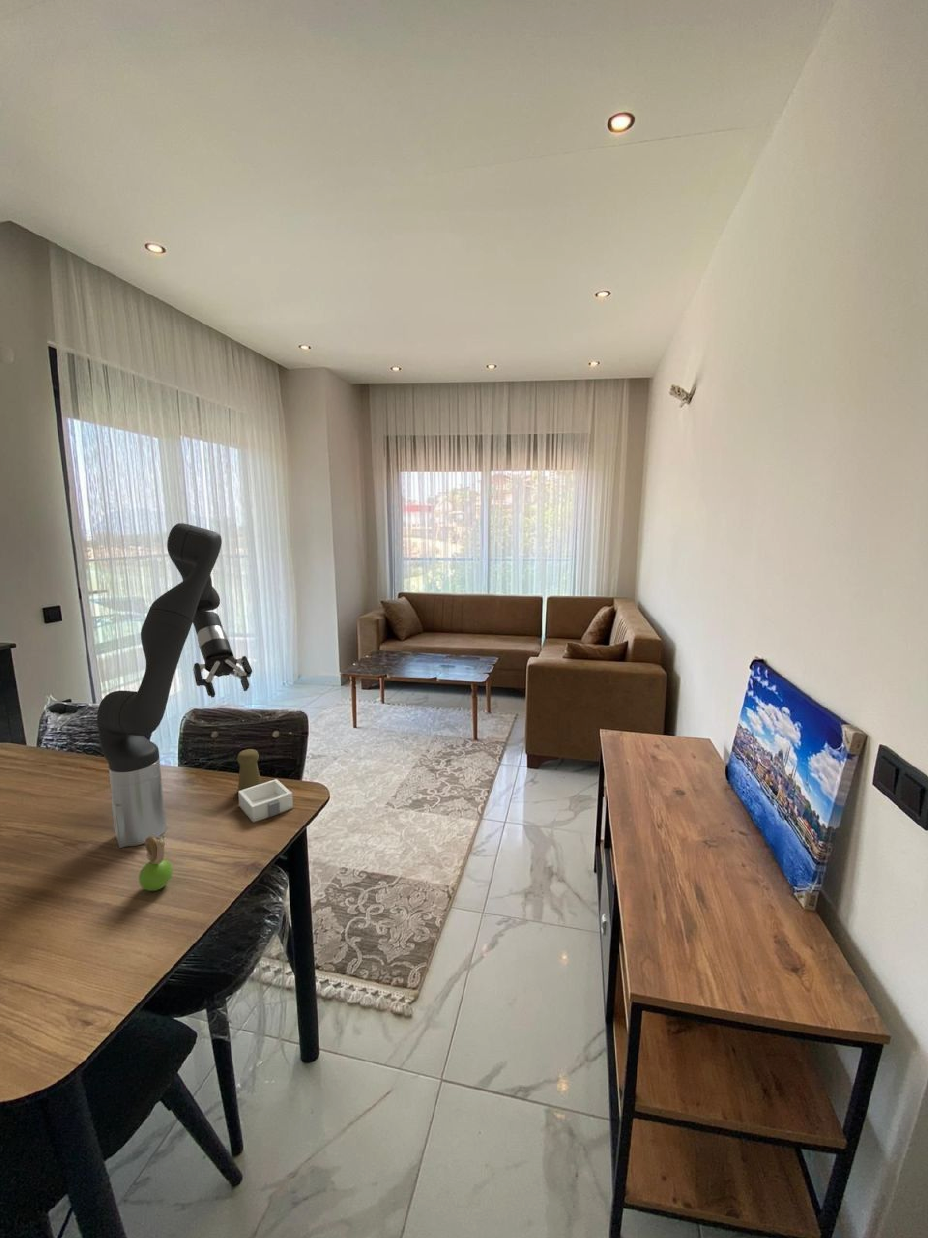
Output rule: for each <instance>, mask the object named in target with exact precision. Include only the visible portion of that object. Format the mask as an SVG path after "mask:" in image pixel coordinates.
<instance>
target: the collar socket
mask: <svg viewBox="0 0 928 1238" xmlns="http://www.w3.org/2000/svg"><path fill="white" fill-rule="evenodd" d="M261 783H262V782H261ZM237 795H238V806H239V808H240V809H241V810H242V812H244V814H245V815H246V816H247V818H249V820H250V821H251V822H252V823H256V822H258V821H261V820H264V819H266V818H272V817H274V816H276V815H280V814H281V813H284V812H286V811H289V810H292V809H293V807H294V806H293V792H292V791H290V790H289V789H288V788H287V787H286V786H285V785H284V784H283V783H282V782H280V780H279V779H278V778H275V779H273V780H269V781H266V782H263V783H262V784H259V785H256V786H253V787H250V788H247V789H244V790H241V791H238V790H237Z"/></svg>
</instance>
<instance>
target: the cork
mask: <svg viewBox="0 0 928 1238" xmlns="http://www.w3.org/2000/svg"><path fill="white" fill-rule="evenodd" d="M259 759H260V754H259V751H257V750H256V749H254V748H248V749H244V750H242V751H240V752H239V753H238V754H237V758H236V760H237V763H238V765H239V770H238V771H239V772H238V784H237V785H238V786H237V792H238V791H241V790H244V789H247V788H250V787H253V786H256V785H259V784H262V780H261V775H260V774H261V773H260V770H259V766H258V761H259Z"/></svg>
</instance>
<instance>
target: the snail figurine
mask: <svg viewBox="0 0 928 1238" xmlns="http://www.w3.org/2000/svg"><path fill="white" fill-rule="evenodd" d="M161 839H162V840H161ZM144 845H145V846H144V847H145V850H146V856H147V857H146V858H147V860H148V861H149V862H147V863H146V864H145V865H144V866H143V867H142V869H141V870H140V872H139V875H138V881H139V882H138V883H139V885H140V886H141V888H143V889H144V890H146V891H148V892H150V891H151V892H153V891H154V892H155V891H159V890H161V889H162V888H164V887H165V886H166V885H167V884H169V882H170V880H171V879H172V876H173V866H172V864H171V863H170V861H168V860H167V859H164V857H165V851H166V849H165V845H166V842H165V834H162V835H160V836H159V837H158V838H155V837H154V836H149V837H148V838H147V839H146V841H145V843H144Z"/></svg>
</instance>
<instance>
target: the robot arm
mask: <svg viewBox="0 0 928 1238" xmlns="http://www.w3.org/2000/svg"><path fill="white" fill-rule="evenodd" d="M222 539H223V538H222V536H221V534H220V533H218V532H216V531H213V530H210V529H208V528H203V527H200V526H196V525H192V524H188V523H184V522H183V523H182V522H180V523H177V524H175V525H174V526H172V528H171V530H170V532H169V534H168V537H167V546H166V548H167V552H168V555H169V558H170V559H171V562H172V563H173V564H174V566H175V568H176V570H177V571H178V573H179V574H180V577H181V578H182V581H181V582H179V583H178V584H176V585H175V586H174V587H172V588H170V589H169V590H167V591H166V592H164V593H163V594H161V595H160V596H159V597H157V598H156V599H155V600H154V601H153V602H152V604H151V605H150V607H149V608H148V611H147V614H146V616H145V619H144V621H143V624H142V627H141V631H140V640H141V646H142V650H143V655H144V658H145V669H144V670H145V671H144V674H143V678H142V681H141V683H140V686H139V688H138V690H137V691H135V690H115V691H111V692H109V693H108V694H107V695H105V696H104V698H102V700H101V701H100V703H99V706H98V708H97V713H96V723H97V731H98V736H99V741H100V747H101V752H102V756H103V757H104V759H106V761H107V763H108V770H109V771H108V772H109V780H110V788H111V798H110V799H111V809H112V818H113V819H112V820H113V827H114V834H115V839H116V842H117V844H118V848H120V849H121V848H126V847H134V846H135V847H136V846H140V845H143V844H144V845H145V841H146V839H147V838H148V837H149V836H154V837H155V838H156V839H158V837H161V836H162V835H164V832H165V831H166V830H167V823H166V816H165V815H166V812H165V802H164V801H165V800H164V793H163V781H162V780H163V779H162V771H161V770H162V769H161V760H160V759H161V757H160V751H159V747H158V745H157V744H156V743H154V742H153V741H151V740H149V739H148V738H147V737H146V736H148V735H150V734H153V732H155V731H156V730H157V728H158V727H159V726H160V724H161V723H162V720H163V718H164V716H165V712H166V708H167V705H168V701H169V697H170V692H171V690H172V689H171V688H172V685H173V681H174V677H175V673H176V670H177V667H178V663H179V661H180V657H181V654H182V653H183V649H184V647H185V643H186V641H187V638H188V636H189V633H190V631H191V628H192V625H193V627H194V630H195V632H196V635H197V641H198V642H197V643H198V646H199V649H200V653H201V655H202V658H203V661H204V662H203V663H201V664H200V663H199V662H195V663H194V665H193V669H192V671H193V674H194V676H193V677H194V679H195V683H196V686H198V687H201V686H204V687H205V690H206V694H207V696H208V697H211V699H212V698H215V697H216V696H215V695H216V691H215V688H214V686H213V680H214V678H215V677H217V678H220V677H224V676H225V677H226V676H230V675H231V676H233V677H235V678H237V679H239V680H240V683H241V687H242V690H243V691H244V692H247V691H248V689H249V688H250V683H249V679H248V678H250V677H251V676H252V674H253V668H252V666H251V664H250V662H249V660H248V658H247V655H242V657H240V658H236V657H235V656H234V653H233V650H232V647H231V645H230V641H229V639H228V636H227V633H226V631H225V630H224V628H223V624H222V621H221V619H220V616H219V614H218V613H216V612H213V611H214V610H216V609H218V608H219V607H220V605H221V604H220V603H221V597H220V595H219V593H218V592H217V590H216V589H215V588H214V586H213V582H212V576H211V573H212V571H213V568H214V566H215V565H216V563H217V560H218V557H219V555H220V552H221V548H222V544H223V543H222V542H223V540H222ZM237 664H238V665H239V666H238V665H237ZM241 667H242V669H241ZM203 670H205V671H207V672H208V674H207V677H206V678H203V674H202V672H203Z"/></svg>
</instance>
